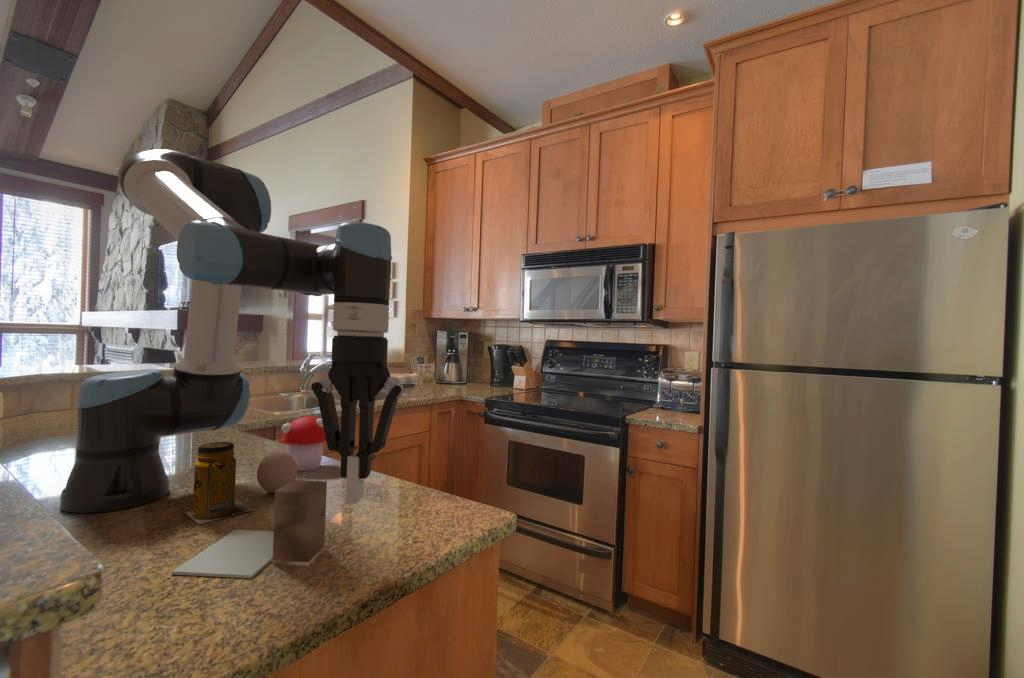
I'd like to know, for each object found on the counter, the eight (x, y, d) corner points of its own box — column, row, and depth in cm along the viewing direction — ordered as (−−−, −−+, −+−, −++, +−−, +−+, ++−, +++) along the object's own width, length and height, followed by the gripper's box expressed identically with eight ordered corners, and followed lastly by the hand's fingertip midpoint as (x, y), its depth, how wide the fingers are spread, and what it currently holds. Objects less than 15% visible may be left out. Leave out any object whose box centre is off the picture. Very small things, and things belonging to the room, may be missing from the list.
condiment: (184, 513, 79) (187, 443, 79) (238, 501, 86) (241, 437, 86) (198, 525, 75) (201, 451, 75) (254, 511, 81) (257, 443, 81)
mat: (171, 574, 59) (171, 571, 59) (235, 532, 72) (235, 529, 72) (251, 578, 59) (251, 575, 59) (300, 535, 72) (301, 532, 72)
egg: (265, 486, 94) (267, 445, 94) (302, 486, 95) (303, 446, 95) (249, 498, 87) (250, 454, 87) (288, 498, 88) (290, 455, 88)
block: (272, 563, 63) (275, 491, 63) (291, 547, 68) (293, 479, 68) (308, 565, 63) (311, 492, 63) (324, 549, 68) (326, 481, 68)
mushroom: (269, 469, 106) (270, 417, 106) (306, 458, 116) (308, 410, 116) (304, 475, 102) (306, 421, 102) (339, 464, 112) (341, 414, 112)
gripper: (302, 332, 62) (296, 507, 62) (399, 336, 61) (392, 512, 61) (326, 333, 69) (320, 489, 69) (412, 336, 69) (406, 493, 69)
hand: (354, 500), depth 65 cm, fingers closed
